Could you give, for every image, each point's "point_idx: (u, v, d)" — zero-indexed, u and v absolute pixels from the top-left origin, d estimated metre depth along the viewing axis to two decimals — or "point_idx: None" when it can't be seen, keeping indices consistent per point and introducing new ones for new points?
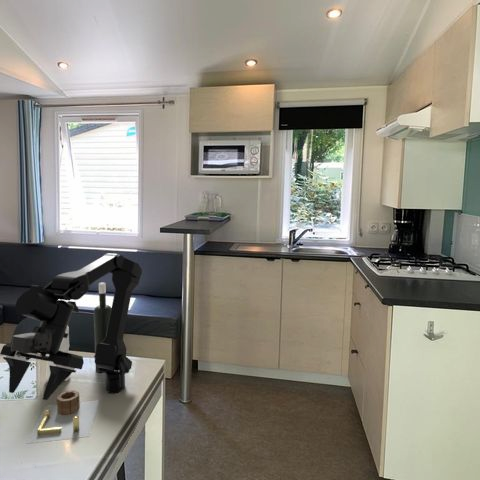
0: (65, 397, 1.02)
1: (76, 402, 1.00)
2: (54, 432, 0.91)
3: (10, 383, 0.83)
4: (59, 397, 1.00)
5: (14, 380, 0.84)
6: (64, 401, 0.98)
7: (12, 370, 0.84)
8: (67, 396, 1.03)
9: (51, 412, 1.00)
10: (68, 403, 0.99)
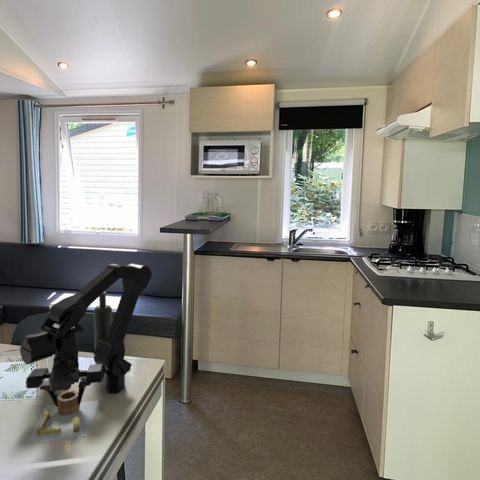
0: (65, 397, 1.02)
1: (76, 402, 1.00)
2: (54, 432, 0.91)
3: (55, 401, 1.00)
4: (59, 397, 1.00)
5: (56, 398, 1.00)
6: (64, 401, 0.98)
7: (52, 393, 0.99)
8: (67, 396, 1.03)
9: (51, 412, 1.00)
10: (68, 403, 0.99)
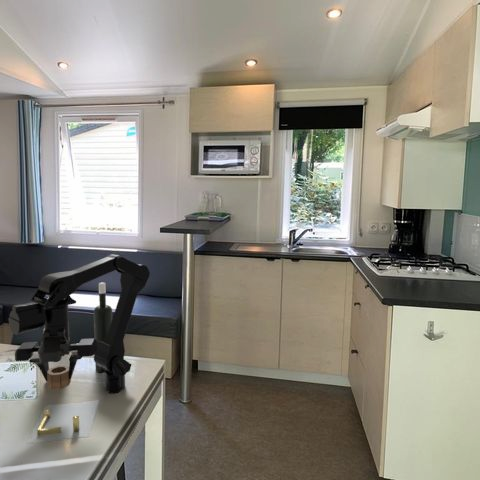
0: (56, 372, 1.00)
1: (67, 376, 0.98)
2: (54, 432, 0.91)
3: (44, 375, 0.97)
4: (49, 371, 0.97)
5: (46, 372, 0.97)
6: (54, 375, 0.96)
7: (42, 367, 0.96)
8: (58, 371, 1.00)
9: (51, 412, 1.00)
10: (58, 377, 0.96)
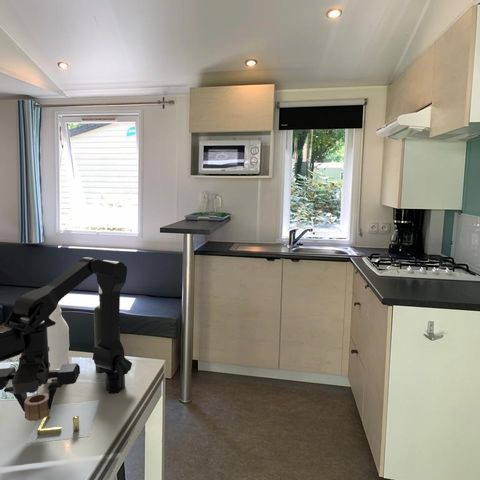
0: (34, 400, 0.91)
1: (46, 406, 0.89)
2: (54, 432, 0.91)
3: (22, 405, 0.89)
4: (27, 400, 0.89)
5: None
6: (32, 405, 0.88)
7: (18, 396, 0.88)
8: (37, 399, 0.92)
9: (51, 412, 1.00)
10: (36, 407, 0.88)
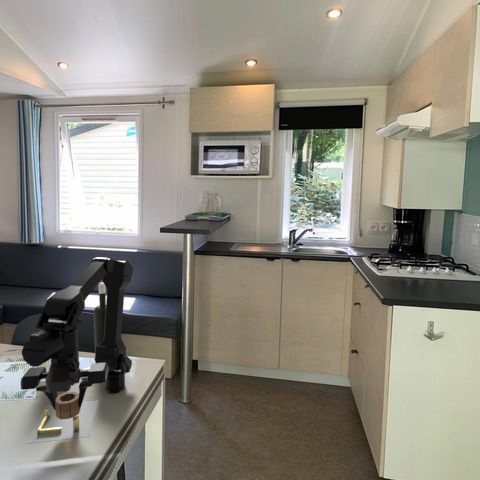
0: (64, 399, 0.92)
1: (76, 405, 0.91)
2: (54, 432, 0.91)
3: (53, 404, 0.90)
4: (57, 399, 0.90)
5: None
6: (63, 404, 0.89)
7: (49, 395, 0.89)
8: (67, 398, 0.93)
9: (51, 412, 1.00)
10: (67, 406, 0.89)
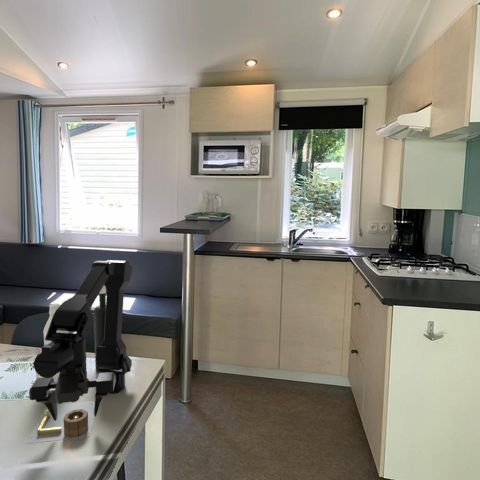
0: (72, 417, 0.93)
1: (84, 423, 0.91)
2: (54, 432, 0.91)
3: (52, 415, 0.90)
4: (66, 417, 0.91)
5: (54, 411, 0.90)
6: (71, 422, 0.90)
7: (49, 406, 0.89)
8: (75, 415, 0.94)
9: None
10: (76, 424, 0.90)
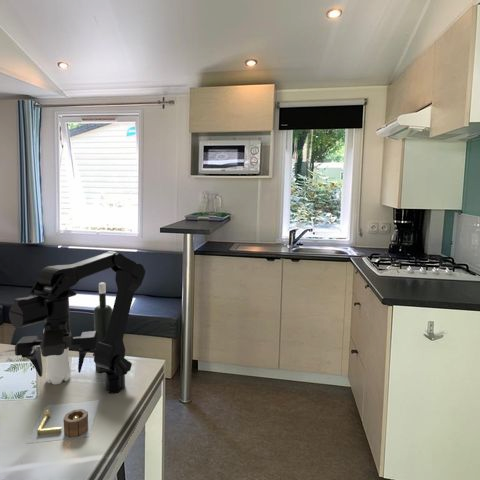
0: (72, 417, 0.93)
1: (84, 423, 0.91)
2: (54, 432, 0.91)
3: (38, 371, 0.94)
4: (66, 417, 0.91)
5: (40, 367, 0.95)
6: (71, 422, 0.90)
7: (35, 362, 0.94)
8: (75, 415, 0.94)
9: (51, 412, 1.00)
10: (76, 424, 0.90)
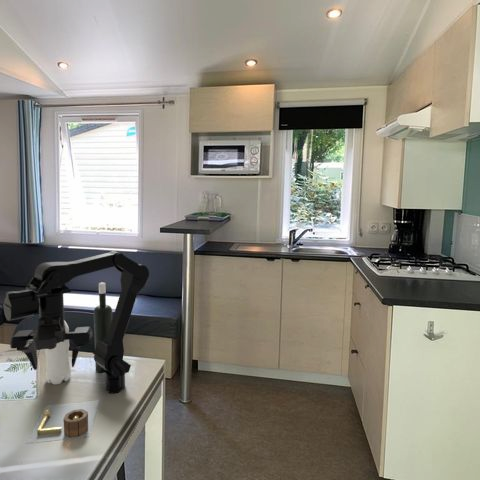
0: (72, 417, 0.93)
1: (84, 423, 0.91)
2: (54, 432, 0.91)
3: (32, 364, 0.97)
4: (66, 417, 0.91)
5: (34, 360, 0.98)
6: (71, 422, 0.90)
7: (29, 355, 0.96)
8: (75, 415, 0.94)
9: (51, 412, 1.00)
10: (76, 424, 0.90)
